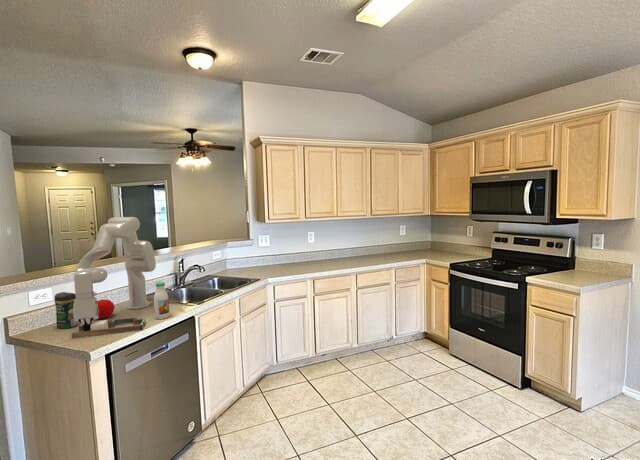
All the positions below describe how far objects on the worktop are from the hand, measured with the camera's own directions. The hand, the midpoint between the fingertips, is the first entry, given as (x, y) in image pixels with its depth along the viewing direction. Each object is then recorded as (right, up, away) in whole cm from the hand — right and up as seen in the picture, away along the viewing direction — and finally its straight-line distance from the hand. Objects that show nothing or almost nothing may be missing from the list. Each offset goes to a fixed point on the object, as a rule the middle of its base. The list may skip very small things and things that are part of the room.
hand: (87, 331), depth 176 cm
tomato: (-8, +1, +24) cm, 26 cm away
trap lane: (+9, 0, +5) cm, 11 cm away
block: (+5, -1, +1) cm, 6 cm away
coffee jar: (-18, -1, +11) cm, 21 cm away
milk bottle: (+28, +1, +22) cm, 36 cm away
